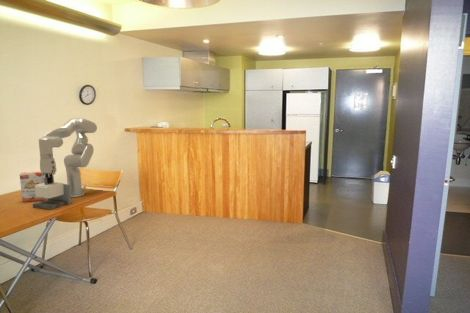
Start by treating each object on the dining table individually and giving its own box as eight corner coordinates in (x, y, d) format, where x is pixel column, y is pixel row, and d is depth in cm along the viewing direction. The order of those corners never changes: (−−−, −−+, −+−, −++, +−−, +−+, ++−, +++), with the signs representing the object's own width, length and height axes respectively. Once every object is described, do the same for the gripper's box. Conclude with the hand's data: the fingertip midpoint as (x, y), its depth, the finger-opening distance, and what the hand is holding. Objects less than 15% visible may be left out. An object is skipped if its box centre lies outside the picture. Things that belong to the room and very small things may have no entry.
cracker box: (22, 202, 231) (19, 173, 227) (24, 200, 236) (21, 172, 233) (44, 200, 235) (41, 172, 232) (46, 198, 241) (43, 170, 237)
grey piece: (50, 201, 233) (48, 182, 231) (71, 203, 226) (69, 184, 224) (30, 207, 219) (28, 187, 217) (52, 210, 212) (50, 189, 210)
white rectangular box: (50, 192, 229) (48, 174, 227) (63, 194, 224) (62, 176, 223) (35, 196, 218) (33, 177, 216) (49, 198, 213) (47, 179, 212)
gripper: (60, 155, 218) (62, 182, 221) (43, 154, 224) (45, 180, 226) (50, 157, 211) (53, 184, 214) (33, 156, 217) (35, 183, 219)
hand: (49, 182), depth 220 cm, fingers closed on white rectangular box, 1 cm apart
